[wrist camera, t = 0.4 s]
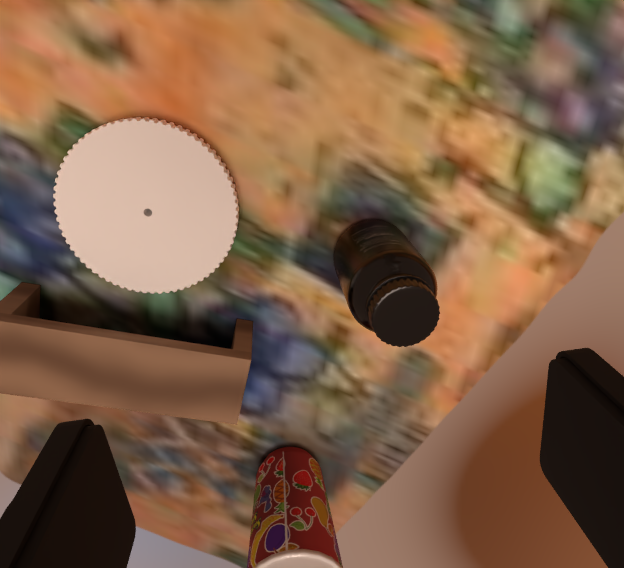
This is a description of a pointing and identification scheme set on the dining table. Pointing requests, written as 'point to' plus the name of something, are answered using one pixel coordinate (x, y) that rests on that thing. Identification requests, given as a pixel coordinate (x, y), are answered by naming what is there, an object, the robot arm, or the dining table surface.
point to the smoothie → (291, 514)
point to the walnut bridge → (119, 365)
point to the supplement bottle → (387, 283)
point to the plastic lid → (146, 205)
